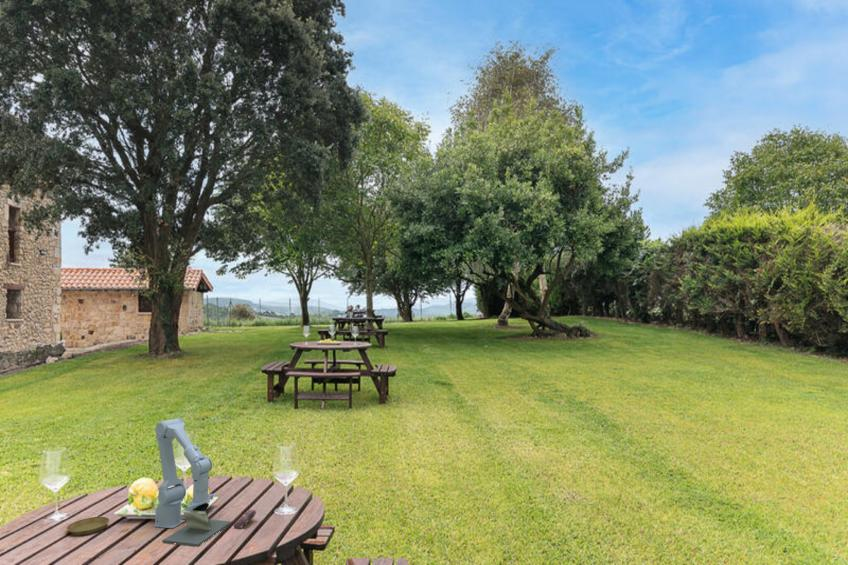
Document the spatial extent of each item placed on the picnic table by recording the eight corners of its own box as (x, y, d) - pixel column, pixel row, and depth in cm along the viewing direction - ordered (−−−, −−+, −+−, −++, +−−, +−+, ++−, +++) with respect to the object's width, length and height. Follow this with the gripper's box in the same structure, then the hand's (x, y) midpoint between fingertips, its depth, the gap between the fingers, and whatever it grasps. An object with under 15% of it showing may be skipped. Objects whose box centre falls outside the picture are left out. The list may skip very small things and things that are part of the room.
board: (162, 542, 196) (162, 540, 196) (198, 520, 217) (198, 518, 217) (198, 546, 192) (198, 544, 192) (231, 523, 214) (231, 521, 214)
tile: (211, 527, 205) (210, 530, 204) (190, 525, 207) (188, 527, 206) (206, 511, 202) (204, 513, 201) (184, 509, 204) (182, 511, 203)
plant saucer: (71, 541, 197) (72, 534, 197) (62, 530, 207) (62, 524, 207) (113, 529, 208) (114, 523, 208) (103, 520, 218) (103, 513, 218)
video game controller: (240, 533, 208) (247, 518, 208) (231, 527, 209) (239, 512, 209) (252, 523, 218) (259, 509, 218) (244, 518, 219) (251, 504, 219)
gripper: (197, 496, 199) (196, 531, 198) (219, 484, 213) (218, 516, 212) (182, 494, 200) (181, 529, 199) (205, 482, 214) (204, 515, 213)
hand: (199, 522), depth 206 cm, fingers closed, pressing on tile
